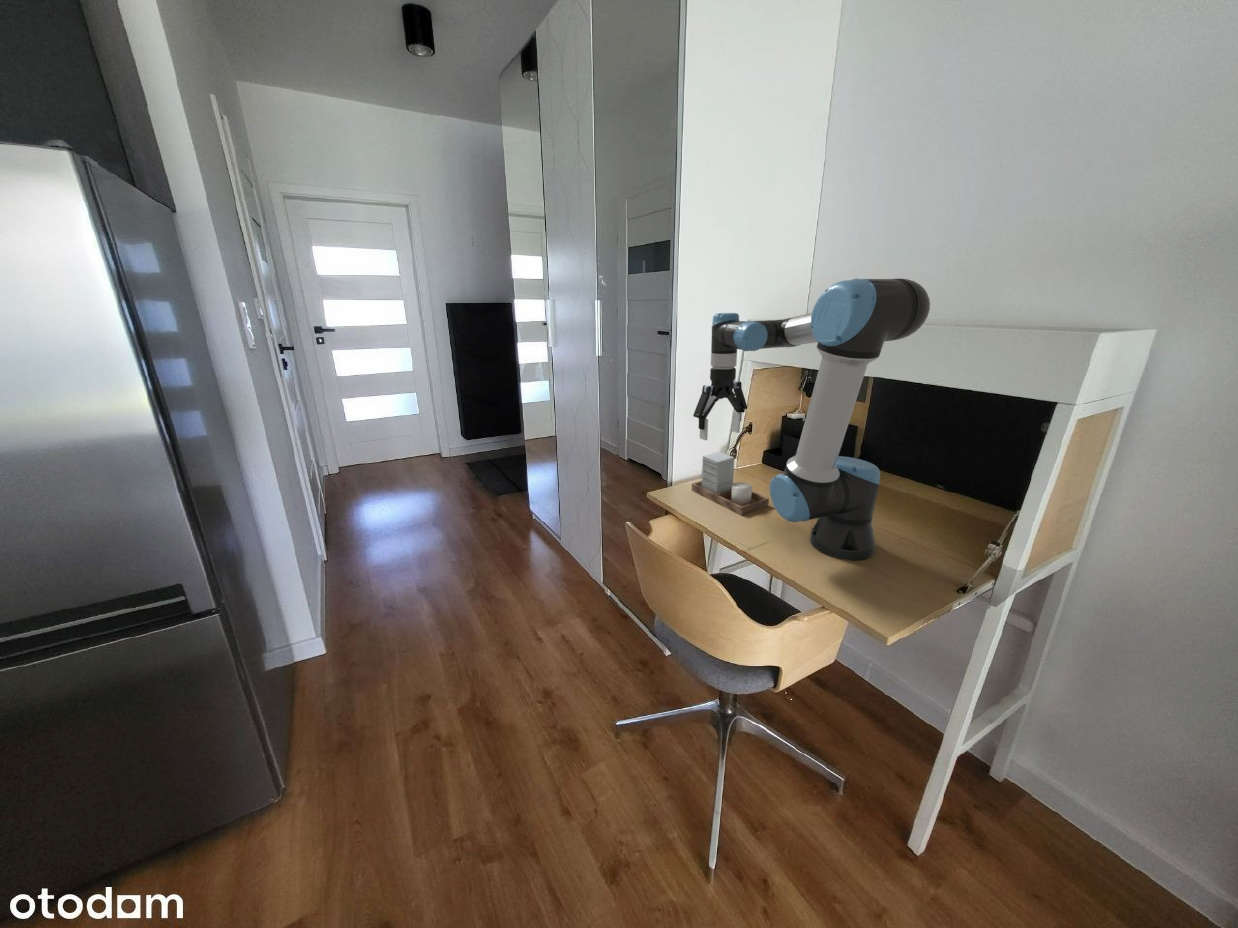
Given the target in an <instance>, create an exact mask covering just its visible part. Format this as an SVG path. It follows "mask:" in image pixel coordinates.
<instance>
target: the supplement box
mask: <svg viewBox="0 0 1238 928" xmlns="http://www.w3.org/2000/svg"><path fill="white" fill-rule="evenodd" d="M701 466H702V467H701V468H702V469H701V470H702V471H701V481H702V488H704V489H706V490H709V491H711V492H713V493H715V494H718V493H721V492H725V491H728V490H731V489H732V484H733V483H734V475H735V474H734V472H735V471H734V470H735V457H734V456H732V455H729V454H727V453H726V454H725V453H723V452H721V451H717V452H716V451H715V452H712V453H709V454H707V455H702V465H701Z"/></svg>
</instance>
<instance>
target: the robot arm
mask: <svg viewBox="0 0 1238 928" xmlns="http://www.w3.org/2000/svg"><path fill="white" fill-rule="evenodd" d="M930 308H931V301H930V297H929V295H928V292H927V290H926V289H925V287H923V286H922V285H921V284H919V282H916V281H915V280H911V279H909V278H853V279H849V280H840V281H837V282H835V283H833V284H831V285H830V286H829V287H828V288H826V289H824V291H823V292H822V293H821V294H820V295H819V297H818V298H817V299H816V302H815V303H814V306H813V309H812V312H810V313H804V314H802V315H801V314H800V315H797V316H793V317H789V318H788V317H787V318H784V319H771V320H770V319H769V320H746V321H745V320H740V315H739V313H737V312H720V313H719V312H718V313H715V314H714V315H713V316H712V325H711V344H710V346H711V347H710V348H711V351H710V353H711V354H710V366H711V368H709V369H710V371H709V379H710V382H711V383H710V385H706V384H704V385H702V387H701V389H702V390H701V395H700V397H699V399H698V403H697V404H696V408H695V409H694V412H693V414H692V416H693V417H694V418H697V419H698V429H699V439H700V440H703V441H708V436H709V435H708V431H709V418H707V417H708V416H709V414H710V412H712V410H713V408H714V406H715V405H716V403H717V402H718V401H719V400H723V399H727V400H728V401H729V403H730V405H731V406H732V407H733V409H734V411H732V421H731V432H734V433H737V434H739V433H740V432H741V431H740V429H741V422H742V415H743V413H745V412H746V410H747V409H748V405H747V401H746V398H745V395H744V392H743V389H742V386H743V385H742V381H739V380H736V376H737V369H736V368H735V367H736V366H737V361H738V360H737V358H738V350H741V351H744V352H756V351H758V350H761V349H776V348H777V349H778V348H794V347H799V346H801V345H807V344H808V345H809V344H815V343H817V344H816V349H817V351H818V353H819V354H820V356H821V361H820V363H819V364H820V365H819V368H818V371H817V375H816V380H815V383H814V386H813V390H812V394H811V397H810V401H809V404H808V408H807V413H806V416H805V420H804V424H803V428H802V431H801V434H800V438H799V442H798V446H797V450H796V452H795V455H793V456H792V457H790V458H788V460H787V461H786V465H785V468H784V471H783V473H778V474H777V475H776V476H774V477H772V479H771V480H770V484H769V496H770V499H771V502H772V505H773V507H774V509H775V510H776V512H777V513H778V515H779V516H780V517H782V519H784V520H785V521H788V522H791V523H797V522H799V523H800V522H807V521H810V520H815V519H817V520H816V522H815V524H814V526H812V527H813V528H812V529H811V532H810V538H809V541H810V544H811V545H812V546H813V548H815V549H816V550H818V552H821V553H823V554H825V555H827V556H829V557H832V558H837V559H840V560H846V561H847V560H848V561H861V560H866V559H869V558H871V557H872V556H873V555H874V554H875V550H876V544H877V543H876V539H875V533H874V527H873V524H872V523H873V522H872V521H873V517H874V512H875V507H876V502H877V496H878V493H879V486H880V485H881V482H880V479H881V471H880V469H879V467H878V466H877V465H875V464H873V463H872V462H869V461H866V460H863V459H860V458H855V457H850V456H842V455H841V456H840V455H839V454H840V452H841V448H842V446H843V442H844V440H845V436H846V432H847V429H848V427H849V424H850V421H851V418H852V414H853V412H854V408H855V405H856V402H857V398H858V396H859V393H860V390H861V388H862V387H861V386H862V383H863V380H864V377H865V373H866V371H867V368H868V365H869V364H870V363H872V362H874V361H876V360H877V359H879V358H880V355H881V352H882V349H883V346H884V343H885V342H890V341H892V342H893V341H898V340H902V339H905V338H908V337H910V336H911V335H913V334H914V333H916V332H917V331H918V330H919V329H920V328H921V327H923V325H924V323H925V322H926V320H927V318H928V317H929V313H930Z"/></svg>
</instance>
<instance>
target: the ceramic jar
mask: <svg viewBox="0 0 1238 928" xmlns="http://www.w3.org/2000/svg"><path fill="white" fill-rule="evenodd" d="M752 492H753V486H752V484H750V483H748V482H743V481H738V482H733V484H732V492H731V502H733V503H735V504H738V505H740V506H744V505H747V504H750V503H751V495H752Z"/></svg>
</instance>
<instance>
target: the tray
mask: <svg viewBox="0 0 1238 928" xmlns="http://www.w3.org/2000/svg"><path fill="white" fill-rule="evenodd" d="M691 491H692V492H693V493H696V494H697V495H699V496H701V497H703V498H705V499H707V500H709V501H711V502H713V503H716V504H717V505H719V506H721V507H723V508H725V509H727V510H730V511H731V512H733V513H735V514H737V515H739V516H743V515H746V514H750V513H753V512H756V511H758V510H761V509H764V508H767V507H769V502H770V498H768V497H767V496H764V495H761V494H759V493H756V492H754V491H752V495H751V503H750V504H747V505H744V506H740V505H738V504H735V503H733V502H731V492H732V489H731V490H728V491H725V492H721V493H718V494H715V493H713V492H711V491H709V490H706V489H704V488H702V480H700V481H698V482H693V483H691Z"/></svg>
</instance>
